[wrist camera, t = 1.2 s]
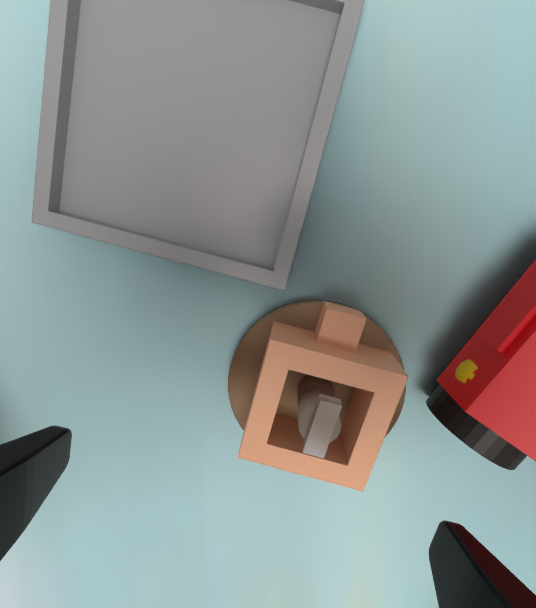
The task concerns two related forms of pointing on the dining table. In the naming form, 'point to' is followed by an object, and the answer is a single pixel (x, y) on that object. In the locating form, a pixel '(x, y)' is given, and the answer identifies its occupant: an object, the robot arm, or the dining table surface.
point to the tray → (190, 125)
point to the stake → (301, 378)
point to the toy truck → (495, 381)
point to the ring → (335, 367)
